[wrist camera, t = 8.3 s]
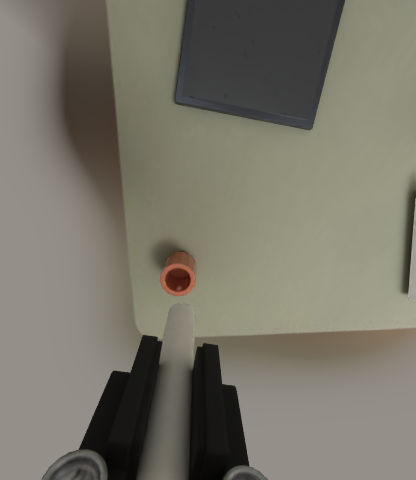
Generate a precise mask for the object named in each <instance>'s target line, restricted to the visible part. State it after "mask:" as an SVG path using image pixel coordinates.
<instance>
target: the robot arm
mask: <svg viewBox="0 0 416 480" xmlns="http://www.w3.org/2000/svg"><path fill="white" fill-rule="evenodd" d="M157 339H158V337H155V336H147V335H143V337H142V340H141V343H140V346H139V349H138V352H137V355H136V358H135V361H134V364H133V367H132V370H131V373H129V372H121V371H113V372H112V373H111V376H110V378H109V380H108V382H107V385H106V387H105V389H104V392H103V394H102V396H101V399H100V401H99V404H98V406H97V408H96V410H95V413H94V415H93V417H92V420H91V422H90V424H89V427H88V429H87V432H86V434H85V436H84V438H83V441H82V443H81V446H80V448H79V450H76V451H73V452H69V453H67V454H66V455H64V456H62V457H61V458H59V459H58V460H57V461H56V462H55V463H53V464H52V465H51V466H50V467H49V469H48V470H47V472H46V473H45V474H44V476H43V477H42V480H136V475H137V470H138V465H139V460H140V455H141V451H142V446H143V441H144V436H145V431H146V426H147V421H148V416H149V411H150V406H151V401H152V396H153V392H154V387H155V382H156V377H157V372H158V367H159V361H160V355H161V349H162V342H161V341H157ZM189 480H268V479H267V478H266V477H265V476H264V475H263V474H262V473H261V472H260V471H258V470H256V469H254V468H252V467H249V461H248V456H247V449H246V443H245V437H244V432H243V426H242V420H241V414H240V408H239V402H238V396H237V391H236V387H235V386H232V385H224V384H222V379H221V369H220V360H219V350H218V345H212V344H206V343H204V344H203V346H202V347H197V351H196V355H195V360H194V365H193V372H192V403H191V433H190V464H189Z"/></svg>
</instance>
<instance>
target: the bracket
mask: <svg viewBox="0 0 416 480" xmlns="http://www.w3.org/2000/svg"><path fill="white" fill-rule="evenodd" d="M408 300H411V301H413V302H415V303H416V200H415V213H414V227H413V240H412V253H411V266H410V280H409V293H408Z"/></svg>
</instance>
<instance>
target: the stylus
mask: <svg viewBox="0 0 416 480" xmlns="http://www.w3.org/2000/svg"><path fill="white" fill-rule="evenodd" d="M194 334H195V312H194V309H193V308H192V307H191V306H190V305H188V304H186V303H177V304H175V305H173V306H172V307H171V308H170V310H169V313H168V317H167V322H166V327H165V332H164V336H163V341H162V349H161V355H160V361H159V367H158V372H157V377H156V382H155V387H154V392H153V396H152V401H151V406H150V411H149V416H148V421H147V426H146V431H145V436H144V441H143V446H142V451H141V455H140V460H139V465H138V470H137V475H136V480H189V464H190V433H191V403H192V372H193V365H194Z"/></svg>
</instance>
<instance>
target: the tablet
mask: <svg viewBox="0 0 416 480" xmlns="http://www.w3.org/2000/svg"><path fill="white" fill-rule="evenodd" d="M344 2H345V0H188V1H187V9H186V17H185V25H184V33H183V40H182V48H181V56H180V64H179V72H178V80H177V88H176V95H175V104H178V105H183V106H188V107H194V108H199V109H204V110H209V111H214V112H219V113H224V114H229V115H234V116H240V117H245V118H250V119H255V120H260V121H265V122H270V123H275V124H280V125H286V126H291V127H296V128H301V129H306V130H311V129H312V128H313V124H314V120H315V116H316V112H317V108H318V104H319V100H320V96H321V92H322V88H323V85H324V81H325V77H326V73H327V69H328V65H329V61H330V57H331V53H332V49H333V45H334V41H335V38H336V34H337V30H338V26H339V22H340V18H341V14H342V10H343V6H344Z"/></svg>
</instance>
